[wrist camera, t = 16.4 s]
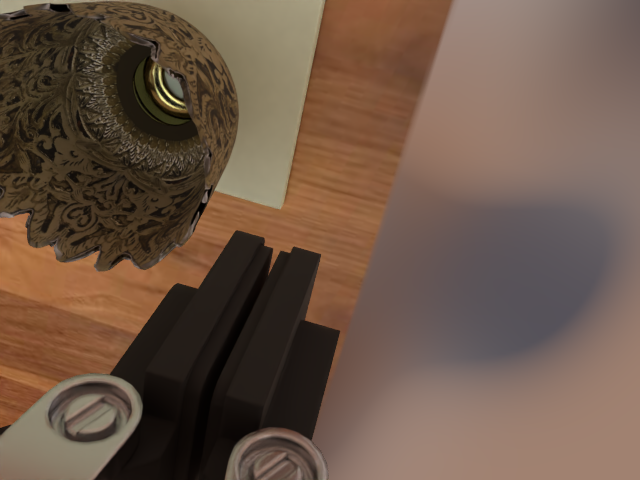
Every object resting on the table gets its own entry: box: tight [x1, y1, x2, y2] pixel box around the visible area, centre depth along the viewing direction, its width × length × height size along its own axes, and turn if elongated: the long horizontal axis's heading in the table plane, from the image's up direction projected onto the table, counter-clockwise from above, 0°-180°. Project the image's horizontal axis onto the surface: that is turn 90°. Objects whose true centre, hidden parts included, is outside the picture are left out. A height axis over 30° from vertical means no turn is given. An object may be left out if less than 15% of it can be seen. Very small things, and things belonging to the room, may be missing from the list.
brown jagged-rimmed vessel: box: [0, 1, 239, 271], centre depth 19 cm, size 8×7×8 cm
